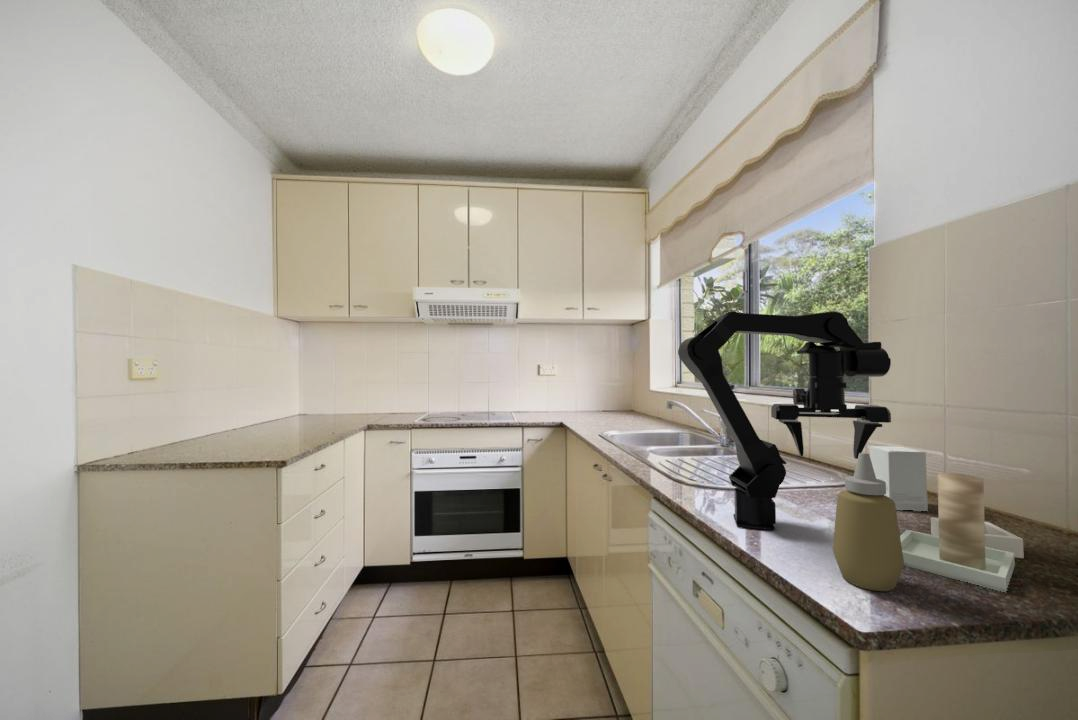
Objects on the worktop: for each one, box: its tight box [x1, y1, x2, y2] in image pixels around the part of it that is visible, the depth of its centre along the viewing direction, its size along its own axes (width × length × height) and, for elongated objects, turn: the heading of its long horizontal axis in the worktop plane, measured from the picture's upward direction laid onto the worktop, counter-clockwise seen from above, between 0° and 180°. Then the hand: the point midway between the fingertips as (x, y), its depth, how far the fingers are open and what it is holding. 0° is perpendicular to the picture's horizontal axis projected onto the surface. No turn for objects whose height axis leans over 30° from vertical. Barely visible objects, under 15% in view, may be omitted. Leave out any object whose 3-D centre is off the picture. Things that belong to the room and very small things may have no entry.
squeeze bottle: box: [832, 452, 905, 592], centre depth 61 cm, size 8×8×18 cm
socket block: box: [930, 516, 1025, 559], centre depth 73 cm, size 8×8×3 cm
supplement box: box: [869, 445, 929, 512], centre depth 95 cm, size 7×7×13 cm
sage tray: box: [900, 529, 1016, 594], centre depth 66 cm, size 13×13×2 cm
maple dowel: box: [937, 472, 986, 570], centre depth 65 cm, size 5×5×13 cm
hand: (828, 457), depth 84 cm, fingers open, 9 cm apart
